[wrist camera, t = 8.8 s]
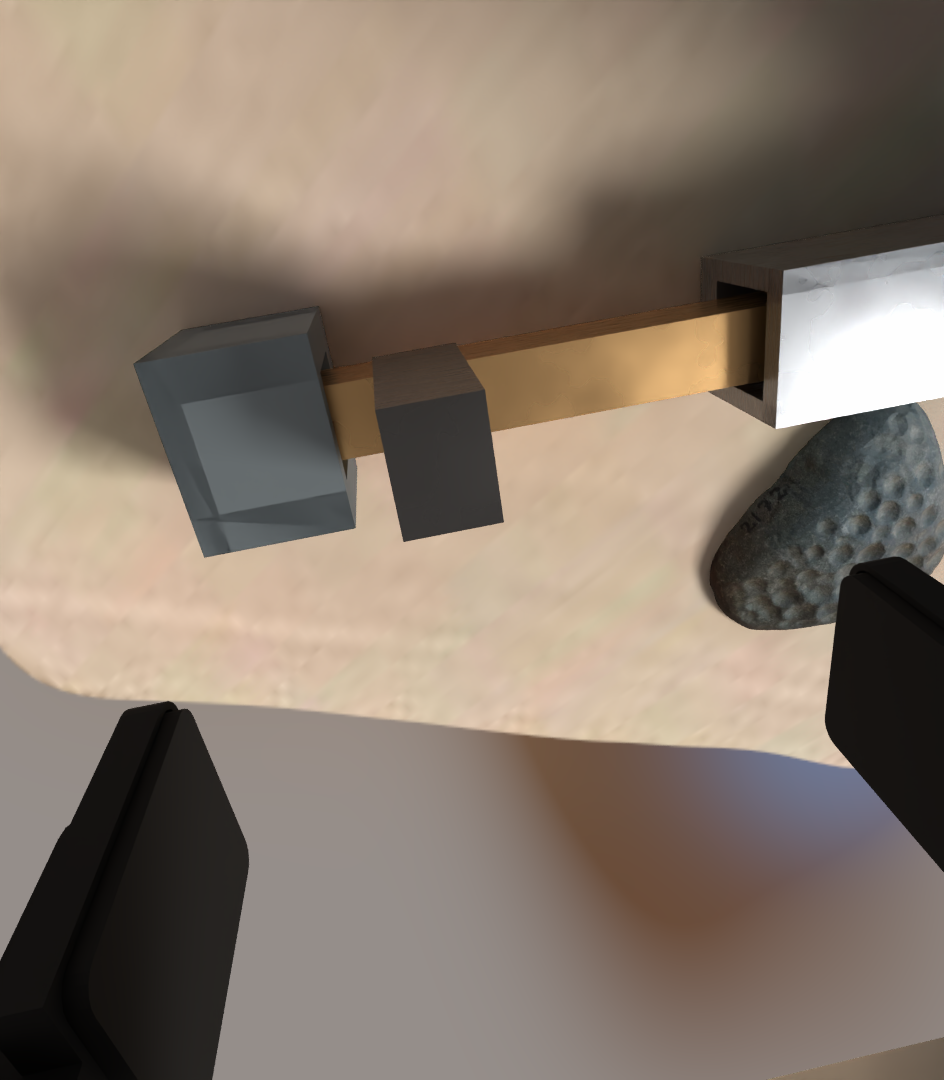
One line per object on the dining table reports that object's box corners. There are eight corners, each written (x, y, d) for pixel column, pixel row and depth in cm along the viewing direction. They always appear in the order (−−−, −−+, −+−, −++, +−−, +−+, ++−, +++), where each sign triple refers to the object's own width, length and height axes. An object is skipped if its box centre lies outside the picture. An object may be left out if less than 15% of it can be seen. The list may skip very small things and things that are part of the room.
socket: (181, 330, 28) (133, 364, 22) (318, 305, 28) (306, 333, 22) (234, 490, 31) (204, 557, 25) (357, 467, 31) (355, 528, 25)
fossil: (956, 514, 38) (1018, 545, 34) (753, 654, 40) (791, 697, 36) (889, 369, 33) (952, 387, 30) (666, 533, 35) (700, 568, 32)
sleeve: (700, 257, 29) (783, 270, 24) (969, 209, 30) (1113, 211, 24) (700, 387, 32) (775, 428, 26) (948, 341, 33) (1074, 371, 27)
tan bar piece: (229, 370, 27) (167, 448, 18) (778, 272, 28) (956, 302, 20) (259, 467, 29) (215, 578, 20) (773, 370, 30) (934, 437, 21)
